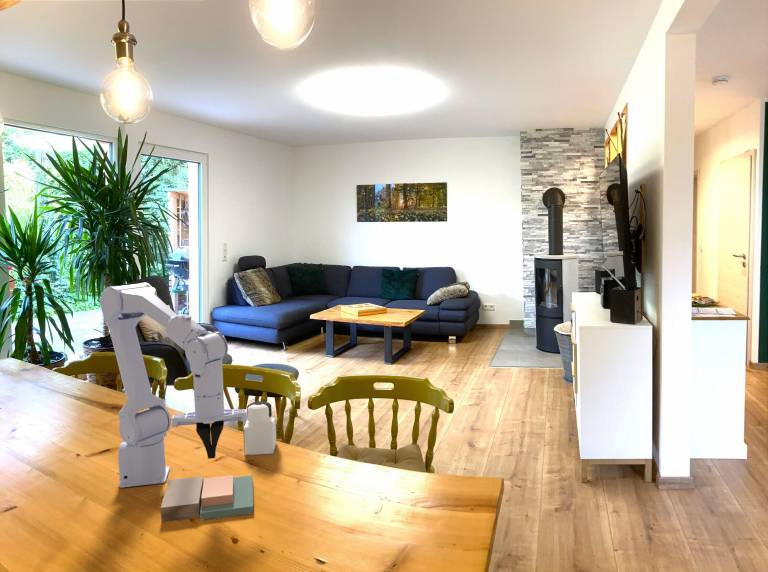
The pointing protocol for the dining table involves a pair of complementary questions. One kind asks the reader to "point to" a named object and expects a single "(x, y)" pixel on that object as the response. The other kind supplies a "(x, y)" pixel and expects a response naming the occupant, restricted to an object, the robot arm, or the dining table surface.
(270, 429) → the medicine bottle
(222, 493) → the terracotta tile
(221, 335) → the robot arm
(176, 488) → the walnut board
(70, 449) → the dining table surface
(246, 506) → the teal rectangular slab
